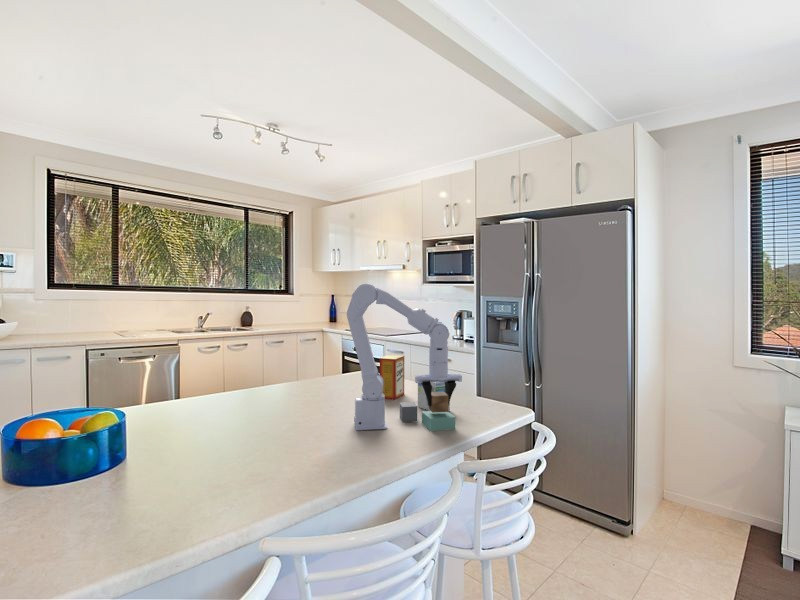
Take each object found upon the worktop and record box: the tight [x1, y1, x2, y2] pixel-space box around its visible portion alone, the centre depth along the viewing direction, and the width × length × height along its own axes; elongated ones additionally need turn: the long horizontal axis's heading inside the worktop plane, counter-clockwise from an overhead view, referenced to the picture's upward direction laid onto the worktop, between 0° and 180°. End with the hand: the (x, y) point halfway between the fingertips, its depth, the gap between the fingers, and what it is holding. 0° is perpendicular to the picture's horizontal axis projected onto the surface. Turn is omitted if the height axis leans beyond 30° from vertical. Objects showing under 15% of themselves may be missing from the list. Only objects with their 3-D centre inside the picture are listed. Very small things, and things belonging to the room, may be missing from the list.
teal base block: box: [421, 410, 456, 432], centre depth 133 cm, size 8×8×4 cm
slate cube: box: [399, 401, 418, 423], centre depth 140 cm, size 5×5×5 cm
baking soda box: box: [379, 354, 405, 401], centre depth 170 cm, size 10×6×16 cm
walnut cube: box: [429, 392, 449, 413], centre depth 133 cm, size 5×5×5 cm
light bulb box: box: [417, 382, 451, 412], centre depth 152 cm, size 11×7×11 cm, turn 34°
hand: (438, 405), depth 133 cm, fingers closed on walnut cube, 5 cm apart
